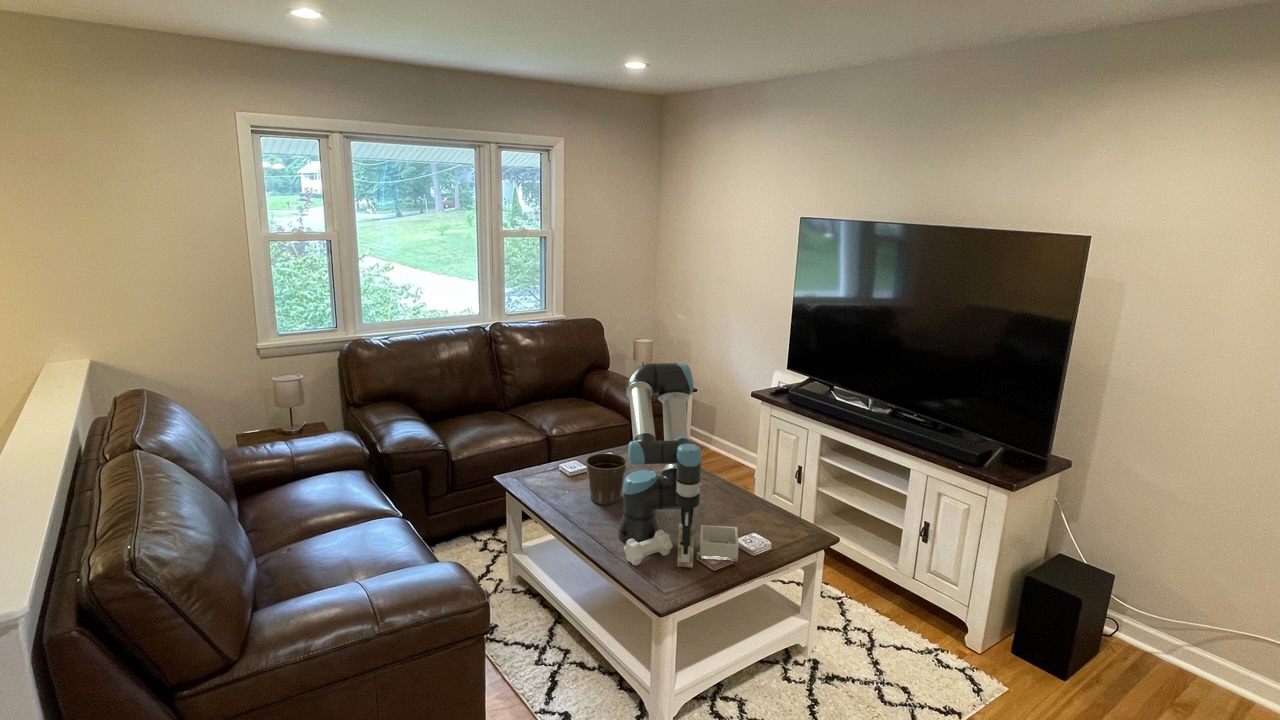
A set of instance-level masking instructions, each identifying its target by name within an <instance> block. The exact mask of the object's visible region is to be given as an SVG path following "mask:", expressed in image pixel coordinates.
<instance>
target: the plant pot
mask: <svg viewBox="0 0 1280 720" xmlns="http://www.w3.org/2000/svg"><path fill="white" fill-rule="evenodd" d="M627 463H628V460H627V459H626V457H624V456H622V455H620V454H616V453H611V452H610V453H609V452H608V453H607V452H606V453H603V452H602V453H596V454H593V455H590V456H588V457H587V458H586V459H585V465H586V469H587V473H588V480H589V482H588V483H589V493H590V495H589V496H590V501H591V500H592V502H593V503H596V504H598V505H606V506H608V505H612V504H616V503H619V502H620V501H621V498H622V492H623V485H624V475H625V472H626V466H627Z"/></svg>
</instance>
